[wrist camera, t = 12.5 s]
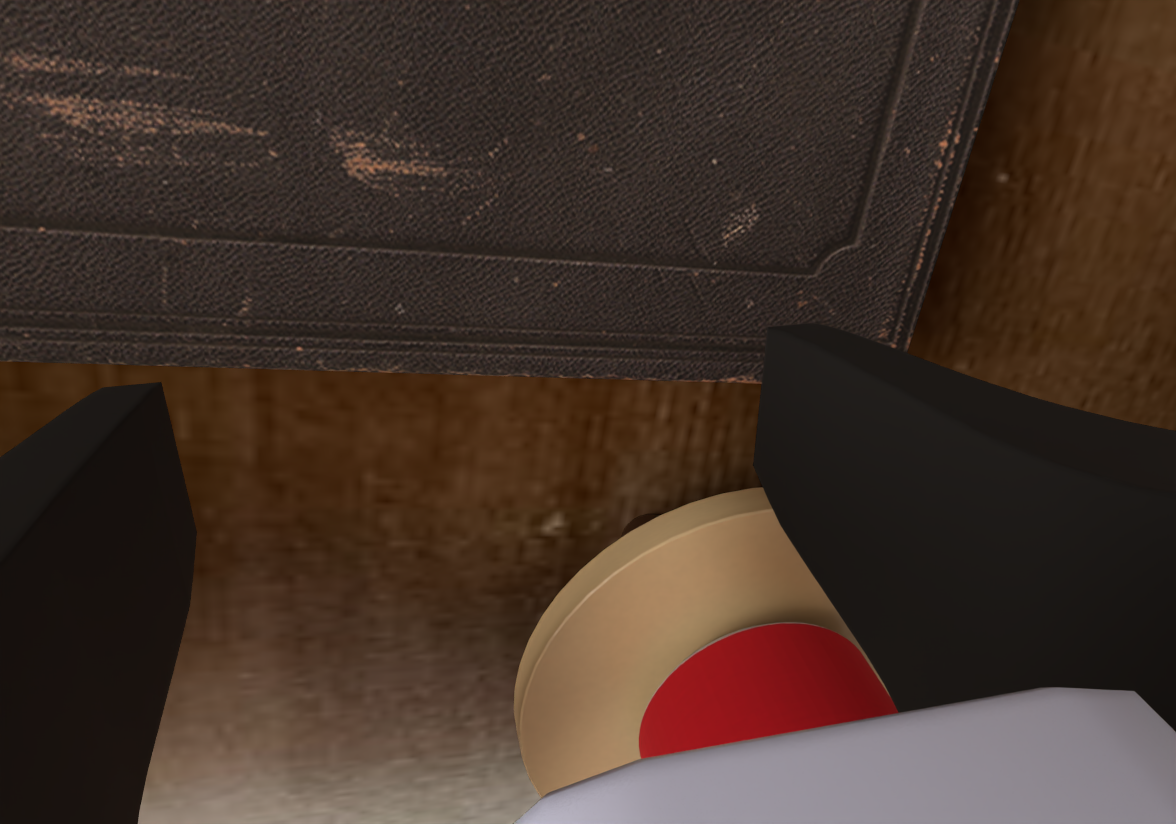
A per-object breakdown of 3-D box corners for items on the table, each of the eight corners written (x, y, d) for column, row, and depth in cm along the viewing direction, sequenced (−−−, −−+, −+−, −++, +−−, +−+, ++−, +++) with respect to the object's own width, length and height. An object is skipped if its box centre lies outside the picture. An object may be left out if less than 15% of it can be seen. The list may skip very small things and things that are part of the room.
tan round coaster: (511, 802, 30) (527, 890, 27) (491, 472, 24) (509, 544, 21) (872, 736, 32) (919, 811, 29) (935, 419, 26) (1000, 479, 23)
